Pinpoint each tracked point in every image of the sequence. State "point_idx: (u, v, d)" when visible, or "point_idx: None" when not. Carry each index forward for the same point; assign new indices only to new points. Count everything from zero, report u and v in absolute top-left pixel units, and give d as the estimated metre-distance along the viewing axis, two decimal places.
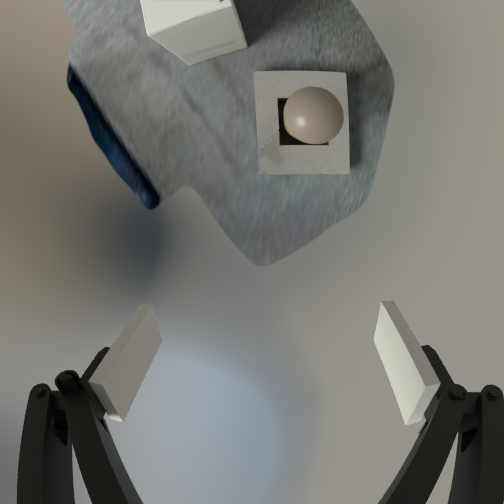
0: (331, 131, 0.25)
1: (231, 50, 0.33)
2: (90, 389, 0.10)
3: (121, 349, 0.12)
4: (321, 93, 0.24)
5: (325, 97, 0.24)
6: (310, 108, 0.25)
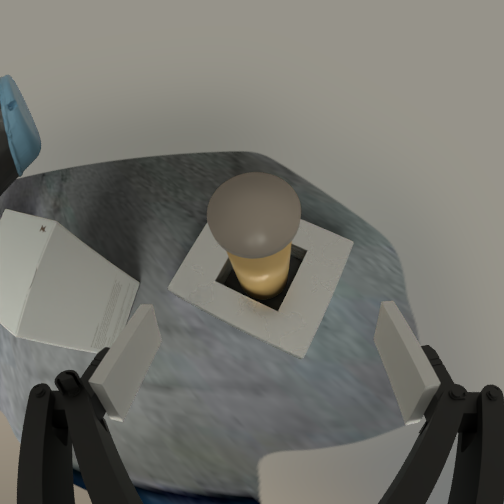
0: (288, 198, 0.18)
1: (130, 299, 0.29)
2: (90, 389, 0.10)
3: (121, 349, 0.12)
4: (229, 187, 0.18)
5: (237, 185, 0.19)
6: (241, 209, 0.18)
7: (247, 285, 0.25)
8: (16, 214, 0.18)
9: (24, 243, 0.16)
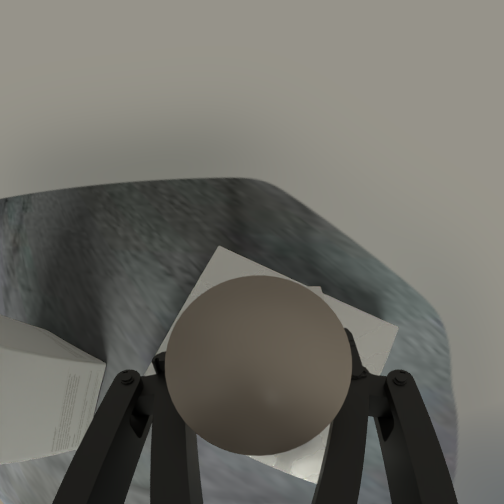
0: (328, 342, 0.08)
1: (95, 387, 0.19)
2: None
3: None
4: (207, 311, 0.09)
5: (223, 307, 0.09)
6: (232, 366, 0.08)
7: None
8: None
9: None
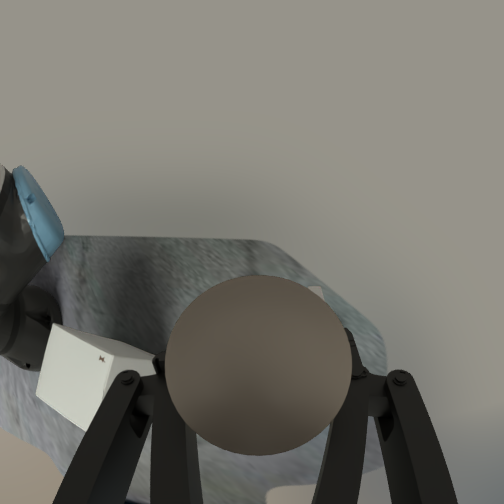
0: (328, 342, 0.08)
1: None
2: None
3: None
4: (207, 311, 0.09)
5: (223, 307, 0.09)
6: (232, 366, 0.08)
7: None
8: (68, 335, 0.23)
9: (86, 367, 0.22)
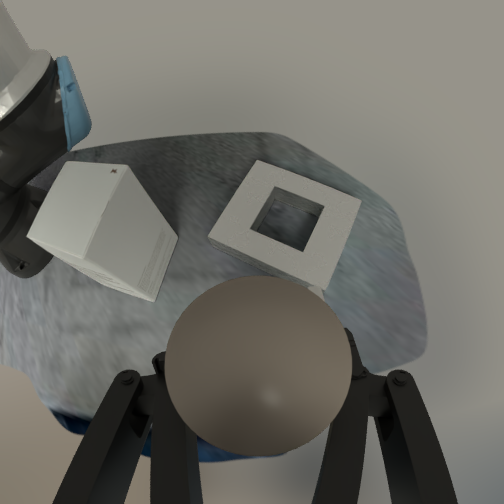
0: (328, 342, 0.08)
1: (170, 250, 0.34)
2: None
3: None
4: (206, 311, 0.09)
5: (223, 307, 0.09)
6: (232, 367, 0.08)
7: None
8: (81, 163, 0.23)
9: (94, 183, 0.22)
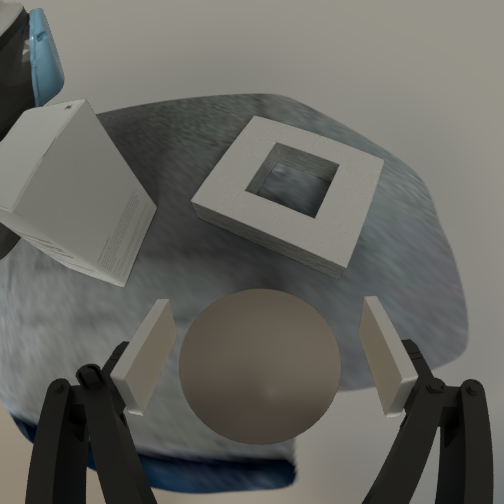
0: (320, 346, 0.10)
1: (146, 222, 0.27)
2: (111, 383, 0.11)
3: (141, 343, 0.13)
4: (215, 320, 0.10)
5: (230, 316, 0.10)
6: (238, 367, 0.10)
7: None
8: (37, 109, 0.16)
9: (44, 124, 0.14)
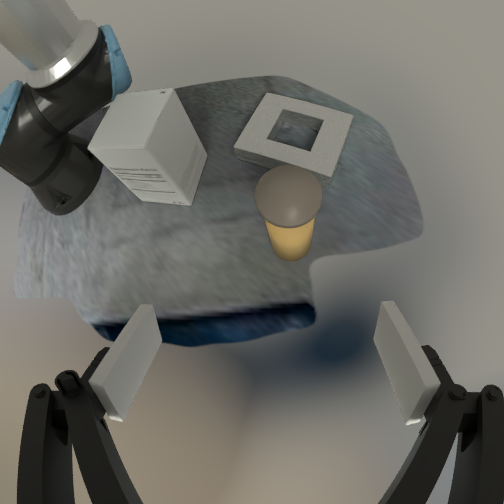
0: (312, 184, 0.24)
1: (202, 164, 0.41)
2: (90, 389, 0.10)
3: (121, 349, 0.12)
4: (268, 177, 0.25)
5: (274, 175, 0.25)
6: (280, 194, 0.24)
7: (281, 249, 0.32)
8: (132, 93, 0.29)
9: (147, 102, 0.28)
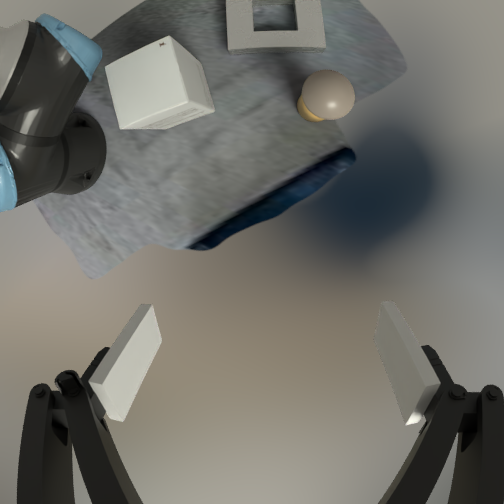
0: (342, 81, 0.26)
1: (203, 73, 0.37)
2: (90, 389, 0.10)
3: (121, 349, 0.12)
4: (308, 86, 0.27)
5: (312, 83, 0.27)
6: (323, 96, 0.27)
7: (317, 120, 0.36)
8: (124, 58, 0.25)
9: (152, 59, 0.25)
